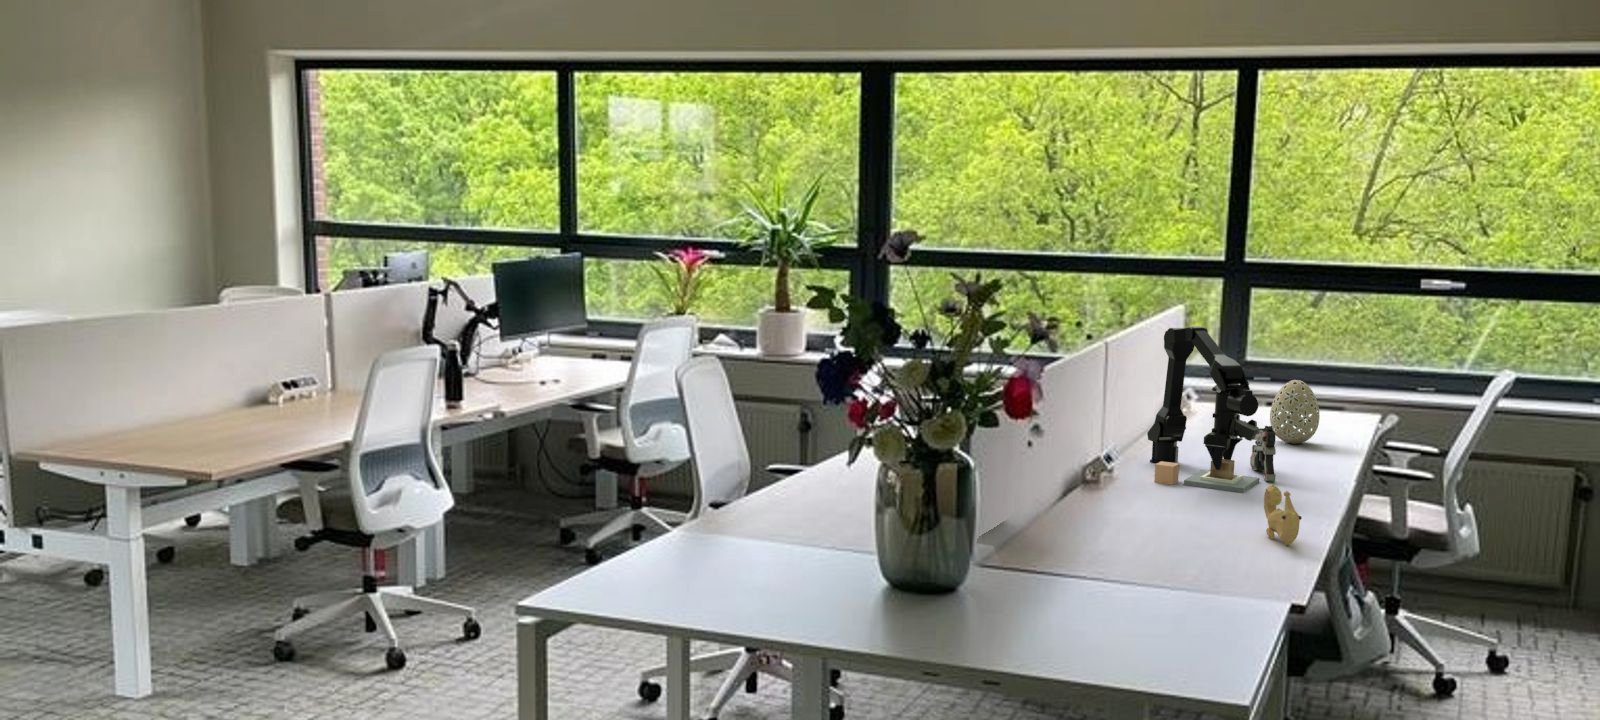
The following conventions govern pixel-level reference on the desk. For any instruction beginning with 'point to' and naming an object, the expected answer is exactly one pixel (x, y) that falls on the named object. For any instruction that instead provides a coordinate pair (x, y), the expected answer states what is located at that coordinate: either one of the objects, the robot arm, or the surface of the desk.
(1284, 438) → the ornament
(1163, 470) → the terracotta block
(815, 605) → the desk surface
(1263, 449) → the toy blaster
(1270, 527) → the toy
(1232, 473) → the walnut block
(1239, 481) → the blueprint plate
